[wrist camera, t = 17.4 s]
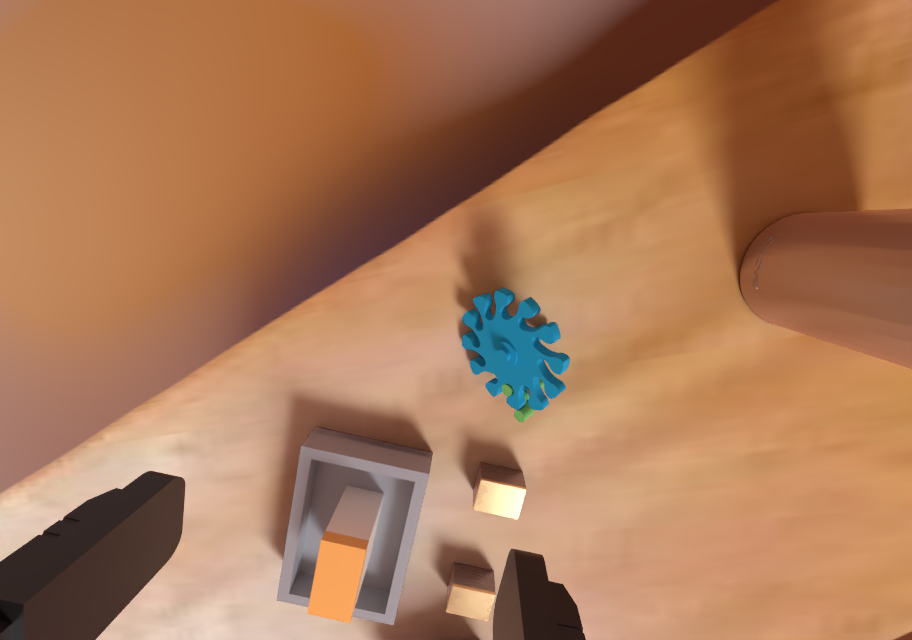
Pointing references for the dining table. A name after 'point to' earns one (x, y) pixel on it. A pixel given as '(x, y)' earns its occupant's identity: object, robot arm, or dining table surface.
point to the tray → (315, 500)
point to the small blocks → (475, 585)
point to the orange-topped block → (345, 554)
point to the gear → (515, 352)
